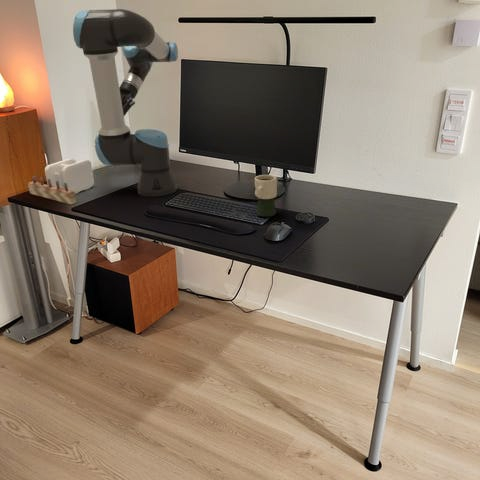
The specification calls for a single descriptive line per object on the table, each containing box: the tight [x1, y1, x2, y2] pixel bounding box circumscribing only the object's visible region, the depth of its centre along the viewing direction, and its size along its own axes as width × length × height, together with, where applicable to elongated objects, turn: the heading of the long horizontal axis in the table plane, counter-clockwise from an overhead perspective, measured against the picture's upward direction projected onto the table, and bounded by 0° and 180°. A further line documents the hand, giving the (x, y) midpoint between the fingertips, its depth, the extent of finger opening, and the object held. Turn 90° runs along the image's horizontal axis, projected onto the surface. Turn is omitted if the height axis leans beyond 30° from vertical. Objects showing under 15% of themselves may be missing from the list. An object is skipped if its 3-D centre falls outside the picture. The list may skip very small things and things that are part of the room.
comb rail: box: [27, 175, 78, 205], centre depth 187 cm, size 26×2×7 cm, turn 55°
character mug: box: [254, 174, 278, 217], centre depth 161 cm, size 11×7×13 cm, turn 153°
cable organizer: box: [44, 158, 95, 195], centre depth 194 cm, size 15×11×12 cm
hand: (105, 132), depth 205 cm, fingers closed
